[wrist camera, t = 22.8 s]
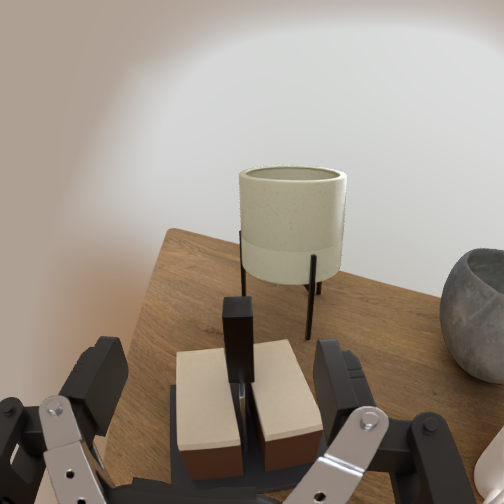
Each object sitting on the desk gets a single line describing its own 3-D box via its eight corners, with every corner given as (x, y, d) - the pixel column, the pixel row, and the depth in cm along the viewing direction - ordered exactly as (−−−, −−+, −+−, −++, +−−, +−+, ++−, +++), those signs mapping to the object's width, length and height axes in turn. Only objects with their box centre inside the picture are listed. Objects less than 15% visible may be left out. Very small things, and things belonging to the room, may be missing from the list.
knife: (235, 452, 27) (220, 329, 21) (235, 409, 33) (224, 286, 27) (257, 451, 27) (253, 328, 21) (254, 408, 33) (251, 285, 27)
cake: (174, 502, 22) (152, 465, 19) (171, 390, 37) (159, 341, 34) (338, 476, 25) (356, 434, 21) (296, 374, 39) (299, 326, 36)
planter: (255, 284, 62) (252, 163, 53) (337, 293, 58) (347, 168, 49) (227, 329, 49) (217, 179, 40) (330, 345, 44) (346, 185, 35)
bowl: (399, 357, 40) (423, 261, 34) (464, 311, 49) (484, 234, 43) (504, 434, 23) (564, 335, 18) (546, 360, 32) (581, 278, 26)
